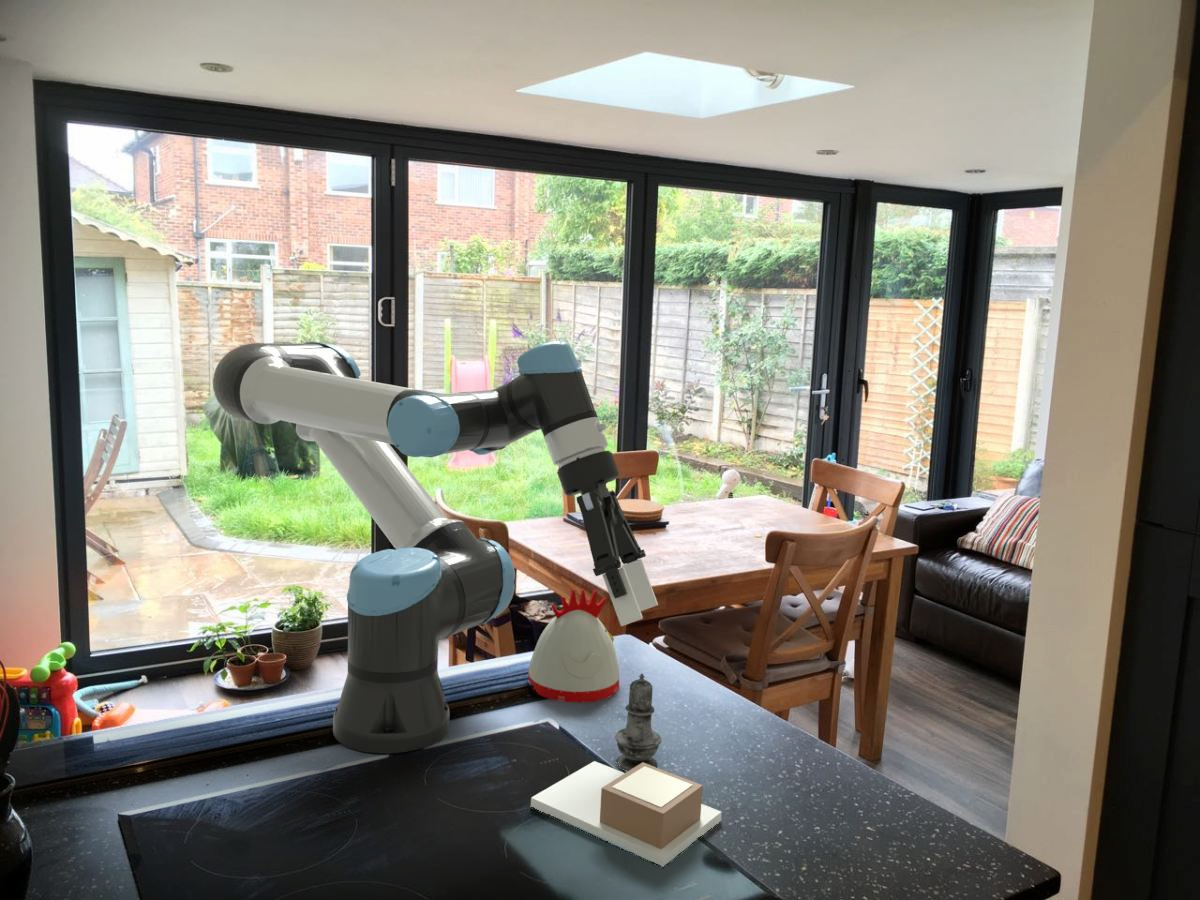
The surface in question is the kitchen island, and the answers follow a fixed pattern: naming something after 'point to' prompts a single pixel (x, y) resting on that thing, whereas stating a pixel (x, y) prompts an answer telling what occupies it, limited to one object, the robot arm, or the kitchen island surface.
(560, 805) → the build board
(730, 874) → the kitchen island surface
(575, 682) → the kitchen timer
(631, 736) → the salt shaker
